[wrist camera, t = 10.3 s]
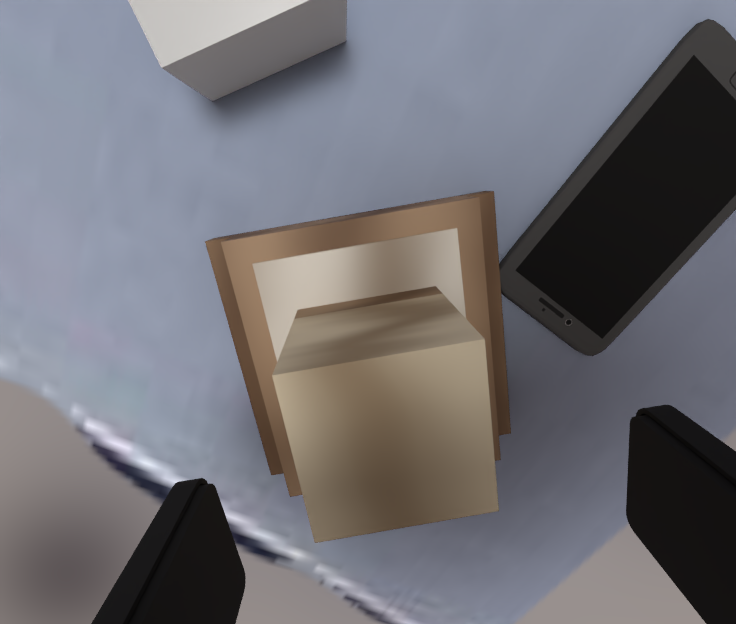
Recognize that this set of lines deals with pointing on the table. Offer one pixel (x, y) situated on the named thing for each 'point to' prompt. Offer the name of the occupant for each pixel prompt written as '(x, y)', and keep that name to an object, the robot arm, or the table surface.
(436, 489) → the tan cube
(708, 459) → the robot arm
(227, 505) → the table surface
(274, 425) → the dock
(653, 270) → the cell phone
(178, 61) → the white cube
